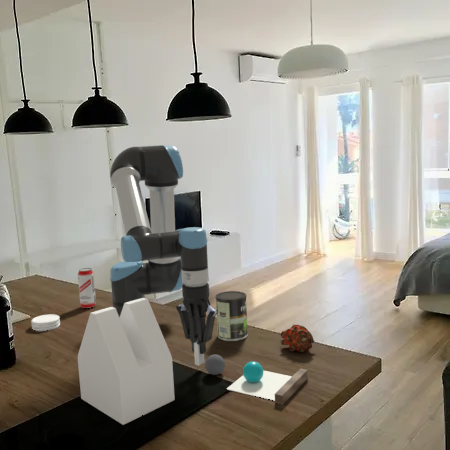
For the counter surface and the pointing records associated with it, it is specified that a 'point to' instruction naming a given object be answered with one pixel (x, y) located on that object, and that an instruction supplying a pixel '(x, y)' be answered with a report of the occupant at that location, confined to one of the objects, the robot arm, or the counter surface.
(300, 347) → the dragon fruit
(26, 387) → the counter surface
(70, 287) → the counter surface
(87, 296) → the beer can
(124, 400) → the white v-notch block
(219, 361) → the gray ball
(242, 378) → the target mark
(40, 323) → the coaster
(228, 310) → the coffee can
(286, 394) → the stopper wall
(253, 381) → the teal ball
